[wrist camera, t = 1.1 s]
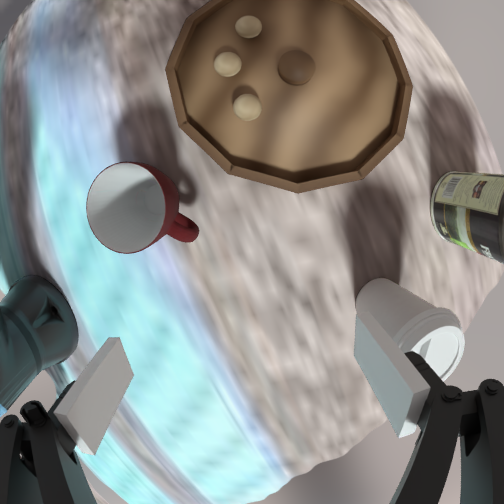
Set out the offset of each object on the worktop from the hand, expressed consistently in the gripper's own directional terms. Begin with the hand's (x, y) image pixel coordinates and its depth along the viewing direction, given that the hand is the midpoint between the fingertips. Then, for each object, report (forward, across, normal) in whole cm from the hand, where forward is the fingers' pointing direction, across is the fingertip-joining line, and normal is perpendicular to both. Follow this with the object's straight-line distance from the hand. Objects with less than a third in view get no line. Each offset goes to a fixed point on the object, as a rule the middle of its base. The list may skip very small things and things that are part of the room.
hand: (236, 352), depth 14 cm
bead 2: (+19, +4, +27) cm, 33 cm away
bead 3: (+19, +3, +16) cm, 25 cm away
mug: (+20, -8, +7) cm, 23 cm away
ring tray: (+20, +9, +21) cm, 30 cm away
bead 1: (+19, +1, +22) cm, 29 cm away
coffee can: (+20, +30, +3) cm, 36 cm away
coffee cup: (+20, +17, -8) cm, 27 cm away
